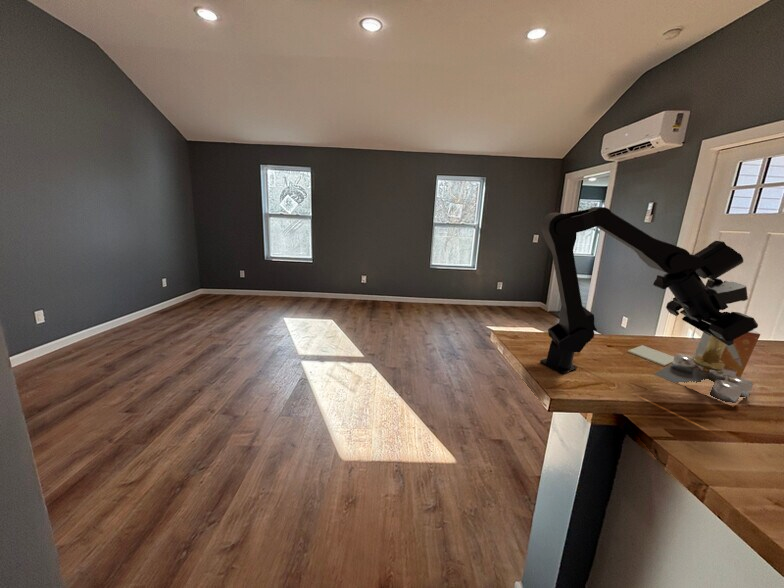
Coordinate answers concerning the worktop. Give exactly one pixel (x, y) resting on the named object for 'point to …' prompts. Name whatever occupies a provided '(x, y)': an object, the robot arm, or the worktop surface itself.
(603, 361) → the worktop surface
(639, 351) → the coaster
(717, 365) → the brass pin
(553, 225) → the robot arm
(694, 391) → the worktop surface
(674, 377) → the mat
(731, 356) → the small box
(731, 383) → the spacers
